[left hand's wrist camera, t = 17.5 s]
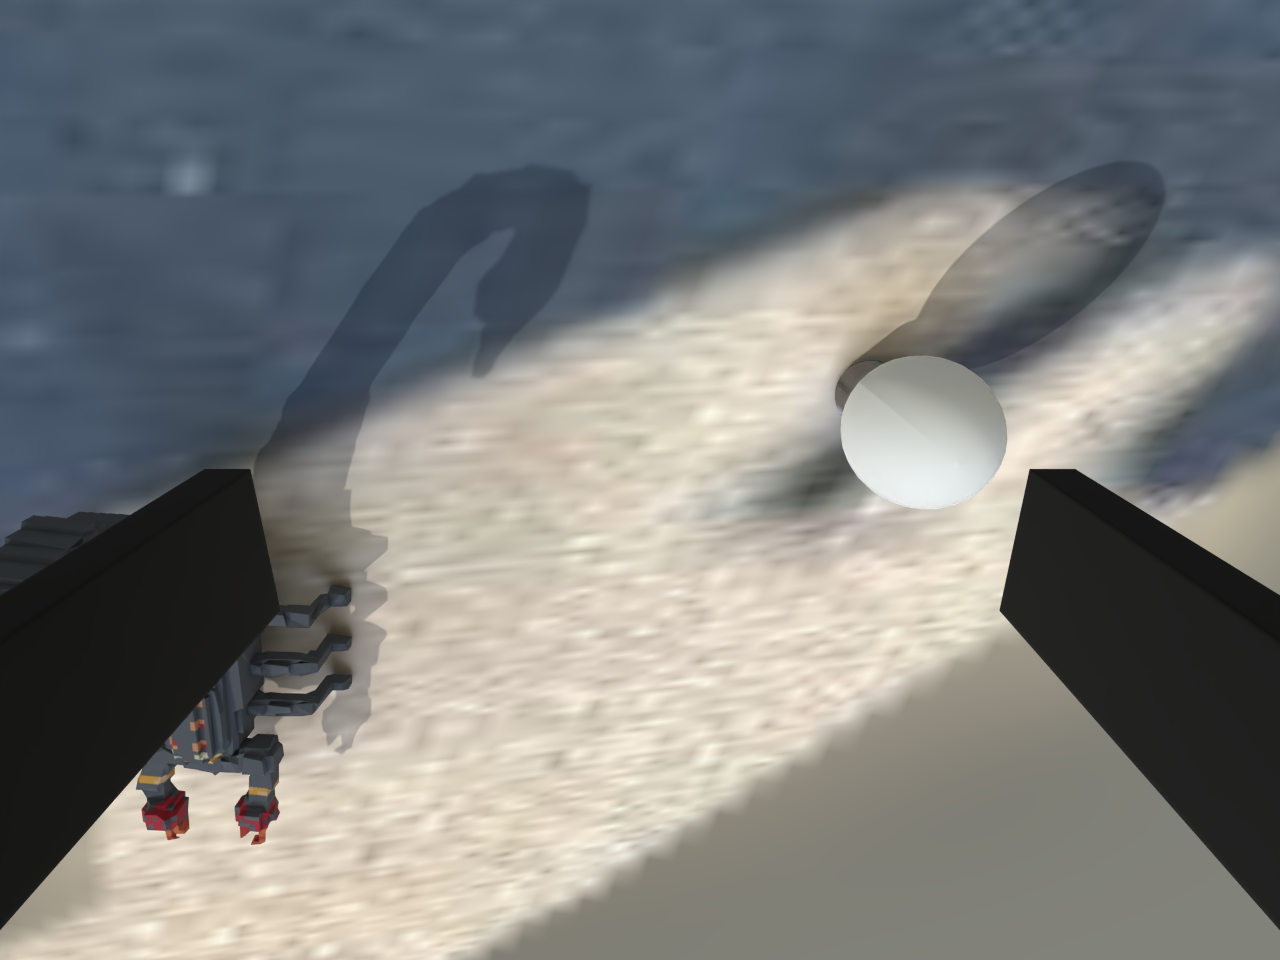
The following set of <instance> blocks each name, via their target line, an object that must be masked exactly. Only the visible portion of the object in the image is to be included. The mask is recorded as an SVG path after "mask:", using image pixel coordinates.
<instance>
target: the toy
mask: <svg viewBox="0 0 1280 960" xmlns="http://www.w3.org/2000/svg"><path fill="white" fill-rule="evenodd" d="M128 516H130V515H124V514H111V513H110V514H106V513H92V512H89V513H87V512H78V513H76V514H74V515H72V516H70V517H69V518H67V519H66V518H58V517H50V516H45V517H42V516H32V517H30V518H28V519H26V520H24V521H22V526H21V529H20V530H18V531H17V532H15V533H13V534H11V535H9V536H8V537H6V538H5V545H4V546H2V547H1V548H0V595H1V594H3V593H5V592H6V591H8V590H10V589H11V588H13V587H14V586H16V585H18V584H19V583H21V582H23V581H24V580H26V579H27V578H29V577H31V576H32V575H34V574H36V573H37V572H39V571H40V570H42V569H44V568H45V567H47V566H49V565H50V564H52V563H53V562H55V561H57V560H58V559H60V558H61V557H63V556H65V555H66V554H68V553H70V552H71V551H73V550H74V549H76V548H78V547H79V546H81V545H83V544H84V543H86V542H87V541H89V540H91V539H92V538H94V537H96V536H97V535H99V534H100V533H102V532H104V531H105V530H107V529H109V528H110V527H112V526H113V525H115V524H117V523H118V522H120V521H121V520H123V519H125V518H126V517H128ZM350 601H351V588H344V587H336V586H331V588H330V590H329V592H328V594H321V595H320V596H319V597H318V598H317V599H316V600H315V601H314V602H313V603H312V604H311V605H310V606H303V605H287V606H282V605H279V606H280V612H279V613H278V614H277V615H276V616H275V617H274V619H273V620H272V621H271V622H270V623H269V624H268V625H267V626H280V627H301V628H309V627H310V626H311V625H312V623H313V622H314V621H315V620H316V619H317V617H318V616H319V615H320V614H321V613H322V612H324V611H325V610H327V609H328V608H329V607H337V606H348V604H349V603H350ZM350 646H351V637H347V636H339V635H330V634H327V636H326V637H325V639H324V640H323V641H322V643H321V644H320V646H319V647H318V648H317V650H316V651H314V650H311V651H310V652H309V653H308V654H304V653H296V652H263V653H262V651H261V641H260V634H259V636H258V637H257V638H256V639H255V640H254V641H253V642H252V644H251V645H250V646H249V647H248V648H247V649H246V650H245V652H244V653H243V654H242V655H241V656H240V657H239V658H238V660H237V661H236V662H235V663H234V664H233V665H232V666H231V668H230V669H229V670H228V671H227V672H226V673H225V674H224V676H223V677H222V678H221V679H220V680H219V681H218V682H217V683H216V685H215V686H214V687H213V688H212V689H211V690H210V691H209V693H208V694H207V695H206V696H205V697H204V698H203V699H202V701H201V702H200V703H199V704H198V705H197V706H196V707H195V709H194V710H193V711H192V712H191V713H190V714H189V715H188V717H187V718H186V719H185V720H184V721H183V722H182V723H181V725H180V726H179V727H178V728H177V729H176V730H175V731H174V732H173V734H172V735H171V736H170V737H169V738H168V739H167V740H166V742H165V743H164V744H163V745H162V746H161V747H160V748H159V750H158V751H157V752H156V753H155V754H154V755H153V756H152V758H151V759H150V760H149V761H148V762H147V763H146V764H145V766H144V767H143V768H142V771H141V773H140V776H139V778H138V782H137V787H136V790H142V791H143V792H144V794H145V795H146V797H147V803H146V804H145V806H144V807H143V808H142V816H143V822H145V823H146V827H147V830H160V831H165V832H166V835H167V839H168V840H171V839H177V838H179V837H176V834H185V833H186V831H187V830H188V829H189V817H188V802H189V797H185V791H180V790H178V789H177V788H176V787H175V786H174V785H173V784H172V782H171V781H170V779H171V777H172V776H173V775H174V774H175V766H176V765H177V764H178V765H183V766H184V768H190V769H197V770H201V771H206V772H211V773H213V774H214V775H216V774H218V773H219V772H232V773H241V772H242V774H248V775H250V777H249V790H248V792H247V794H246V795H243V796H242V797H241V798H240V800H239V801H238V803H237V804H236V806H235V817H236V821H238V826H240V836H241V838H242V837H244V836H245V835H246V834H247V833H248V832H249V831H256V832H259V835H255V837H254V839H253V841H252V843H251V845H254V844H261V843H263V842H265V832H266V829H267V827H268V825H269V823H270V822H271V821H273V820H277V818H278V815H279V813H280V812H279V810H278V803H279V802H278V800H277V798H276V797H275V787H276V785H277V784H278V783H279V763H280V761H281V759H282V758H283V756H284V752H283V745H282V744H281V743H280V742H279V740H278V735H273V734H257V735H256V736H254V737H253V738H247V737H248V736H249V734H250V733H251V732H252V730H253V729H254V718H255V717H256V715H259V716H306V715H312V714H313V713H314V712H315V711H316V710H317V709H318V707H319V706H320V705H321V704H322V702H323V701H324V700H325V699H326V698H327V696H328V695H329V694H330V693H331V691H332V690H345V689H349V687H350V685H351V684H352V675H336V674H332V675H328V676H326V677H325V679H324V680H323V681H322V682H321V684H320V685H319V686H318V688H317V689H316V690H315V691H312V692H309V693H307V694H292V693H274V692H269V693H264V692H262V691H260V690H259V688H260V687H261V686H262V685H263V683H264V682H263V676H268V677H276V676H280V675H284V674H285V675H296V676H303V675H307V674H312V673H315V672H318V671H319V669H320V668H321V666H322V665H323V663H324V662H325V660H326V659H327V658H328V656H329V655H330V653H331V652H332V651H346V650H348V649H349V648H350Z"/></svg>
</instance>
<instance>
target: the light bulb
mask: <svg viewBox="0 0 1280 960" xmlns="http://www.w3.org/2000/svg"><path fill="white" fill-rule="evenodd" d="M835 400H836V405H837V408H838V410H839V412H840V414H841V415H842V419H841V437H842V445H843V449H844V452H845V455H846V457H847V460H848V462H849V464H850V465H851V467H852V469H853V470H854V472H855V473H856V475H857V476H858V478H859V479H860V480H861V481H862V482H864V483H865V484H866V485H867V486H868V487H869V488H870V489H871V490H872V491H873V492H875V493H876V494H878V495H879V496H881V497H883V498H884V499H886V500H889V501H891V502H893V503H896V504H899V505H902V506H904V507H910V508H916V509H940V508H945V507H949V506H953V505H955V504H958V503H961V502H963V501H965V500H967V499H968V498H970V497H972V496H973V495H975V494H977V493H978V492H979V491H980V490H982V489H983V488H984V487H985V486H986V485H987V484H988V483H989V482H990V480H991V479H992V478H993V477H994V475H995V473H996V472H997V470H998V468H999V467H1000V465H1001V463H1002V460H1003V457H1004V454H1005V451H1006V445H1007V427H1006V420H1005V417H1004V413H1003V410H1002V407H1001V405H1000V403H999V402H998V400H997V398H996V396H995V395H994V393H993V392H992V390H991V389H990V387H989V386H988V385H987V384H986V383H985V382H984V381H983V380H982V379H981V378H980V377H978V376H977V375H976V374H974V373H973V372H972V371H970V370H969V369H967V368H966V367H964V366H963V365H960V364H958V363H955V362H953V361H950V360H947V359H944V358H940V357H934V356H928V355H927V356H907V357H902V358H898V359H893V360H891V361H889V362H886V363H883V362H880V361H872V360H871V361H863V362H859V363H857V364H855V365H853V366H851V367H850V368H849V369H847V370H846V371H845V372H844V373H843V375H842V376H841V377H840V379H839V381H838V383H837V386H836V391H835Z"/></svg>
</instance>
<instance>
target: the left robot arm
mask: <svg viewBox="0 0 1280 960" xmlns="http://www.w3.org/2000/svg"><path fill="white" fill-rule="evenodd" d="M279 612H280V606H279V602H278V597H277V592H276V587H275V583H274V578H273V573H272V569H271V564H270V559H269V555H268V550H267V545H266V540H265V536H264V531H263V526H262V522H261V517H260V512H259V508H258V503H257V498H256V494H255V489H254V484H253V479H252V475H251V470H250V469H204V470H203V471H201V472H199V473H198V474H196V475H194V476H193V477H191V478H190V479H188V480H186V481H185V482H183V483H182V484H180V485H178V486H177V487H175V488H173V489H172V490H170V491H169V492H167V493H165V494H164V495H162V496H160V497H159V498H157V499H156V500H154V501H152V502H151V503H149V504H147V505H146V506H144V507H143V508H141V509H139V510H138V511H136V512H134V513H133V514H131V515H130V516H128V517H126V518H125V519H123V520H121V521H120V522H118V523H117V524H115V525H113V526H112V527H110V528H109V529H107V530H105V531H104V532H102V533H100V534H99V535H97V536H96V537H94V538H92V539H91V540H89V541H87V542H86V543H84V544H83V545H81V546H79V547H78V548H76V549H74V550H73V551H71V552H70V553H68V554H66V555H65V556H63V557H61V558H60V559H58V560H57V561H55V562H53V563H52V564H50V565H49V566H47V567H45V568H44V569H42V570H40V571H39V572H37V573H36V574H34V575H32V576H31V577H29V578H27V579H26V580H24V581H23V582H21V583H19V584H18V585H16V586H14V587H13V588H11V589H10V590H8V591H6V592H5V593H3V594H1V595H0V930H1V929H2V927H3V926H4V925H5V924H6V923H7V922H8V921H9V919H10V918H11V917H12V916H13V915H14V914H15V913H16V911H17V910H18V909H19V908H20V907H21V906H22V905H23V903H24V902H25V901H26V900H27V899H28V898H29V897H30V895H31V894H32V893H33V892H34V891H35V890H36V889H37V887H38V886H39V885H40V884H41V883H42V882H43V881H44V879H45V878H46V877H47V876H48V875H49V874H50V873H51V872H52V870H53V869H54V868H55V867H56V866H57V865H58V864H59V862H60V861H61V860H62V859H63V858H64V857H65V856H66V854H67V853H68V852H69V851H70V850H71V849H72V848H73V846H74V845H75V844H76V843H77V842H78V841H79V840H80V838H81V837H82V836H83V835H84V834H85V833H86V832H87V831H88V829H89V828H90V827H91V826H92V825H93V824H94V823H95V821H96V820H97V819H98V818H99V817H100V816H101V815H102V813H103V812H104V811H105V810H106V809H107V808H108V807H109V805H110V804H111V803H112V802H113V801H114V800H115V799H116V797H117V796H118V795H119V794H120V793H121V792H122V791H123V789H124V788H125V787H126V786H127V785H128V784H129V783H130V782H131V780H132V779H133V778H134V777H135V776H136V775H137V774H138V772H139V771H140V770H141V769H142V768H143V767H144V766H145V764H146V763H147V762H148V761H149V760H150V759H151V758H152V756H153V755H154V754H155V753H156V752H157V751H158V750H159V748H160V747H161V746H162V745H163V744H164V743H165V742H166V740H167V739H168V738H169V737H170V736H171V735H172V734H173V732H174V731H175V730H176V729H177V728H178V727H179V726H180V725H181V723H182V722H183V721H184V720H185V719H186V718H187V717H188V715H189V714H190V713H191V712H192V711H193V710H194V709H195V707H196V706H197V705H198V704H199V703H200V702H201V701H202V699H203V698H204V697H205V696H206V695H207V694H208V693H209V691H210V690H211V689H212V688H213V687H214V686H215V685H216V683H217V682H218V681H219V680H220V679H221V678H222V677H223V676H224V674H225V673H226V672H227V671H228V670H229V669H230V668H231V666H232V665H233V664H234V663H235V662H236V661H237V660H238V658H239V657H240V656H241V655H242V654H243V653H244V652H245V650H246V649H247V648H248V647H249V646H250V645H251V644H252V642H253V641H254V640H255V639H256V638H257V637H258V636H259V634H260V633H261V632H262V631H263V630H264V629H265V628H266V626H267V625H268V624H269V623H270V622H271V621H272V620H273V619H274V617H275V616H276V615H277V614H278V613H279ZM1000 612H1001V613H1002V614H1003V615H1004V616H1005V617H1006V619H1007V620H1008V621H1009V622H1010V623H1011V624H1012V625H1013V626H1014V628H1015V629H1016V630H1017V631H1018V632H1019V633H1020V634H1021V636H1022V637H1023V638H1024V639H1025V640H1026V641H1027V642H1028V644H1029V645H1030V646H1031V647H1032V648H1033V649H1034V650H1035V652H1036V653H1037V654H1038V655H1039V656H1040V657H1041V658H1042V660H1043V661H1044V662H1045V663H1046V664H1047V665H1048V666H1049V667H1050V669H1051V670H1052V671H1053V672H1054V673H1055V674H1056V676H1057V677H1058V678H1059V679H1060V680H1061V681H1062V682H1063V683H1064V685H1065V686H1066V687H1067V688H1068V689H1069V690H1070V691H1071V693H1072V694H1073V695H1074V696H1075V697H1076V698H1077V699H1078V701H1079V702H1080V703H1081V704H1082V705H1083V706H1084V707H1085V709H1086V710H1087V711H1088V712H1089V713H1090V714H1091V715H1092V717H1093V718H1094V719H1095V720H1096V721H1097V722H1098V723H1099V724H1100V726H1101V727H1102V728H1103V729H1104V730H1105V731H1106V732H1107V734H1108V735H1109V736H1110V737H1111V738H1112V739H1113V740H1114V742H1115V743H1116V744H1117V745H1118V746H1119V747H1120V748H1121V750H1122V751H1123V752H1124V753H1125V754H1126V755H1127V756H1128V758H1129V759H1130V760H1131V761H1132V762H1133V763H1134V764H1135V766H1136V767H1137V768H1138V769H1139V770H1140V771H1141V772H1142V774H1143V775H1144V776H1145V777H1146V778H1147V779H1148V780H1149V782H1150V783H1151V784H1152V785H1153V786H1154V787H1155V788H1156V789H1157V791H1158V792H1159V793H1160V794H1161V795H1162V796H1163V797H1164V799H1165V800H1166V801H1167V802H1168V803H1169V804H1170V805H1171V807H1172V808H1173V809H1174V810H1175V811H1176V812H1177V813H1178V815H1179V816H1180V817H1181V818H1182V819H1183V820H1184V821H1185V823H1186V824H1187V825H1188V826H1189V827H1190V828H1191V829H1192V831H1193V832H1194V833H1195V834H1196V835H1197V836H1198V837H1199V838H1200V840H1201V841H1202V842H1203V843H1204V844H1205V845H1206V846H1207V848H1208V849H1209V850H1210V851H1211V852H1212V853H1213V854H1214V856H1215V857H1216V858H1217V859H1218V860H1219V861H1220V862H1221V863H1222V865H1223V866H1224V867H1225V868H1226V869H1227V870H1228V871H1229V873H1230V874H1231V875H1232V876H1233V877H1234V878H1235V879H1236V881H1237V882H1238V883H1239V884H1240V885H1241V886H1242V888H1243V889H1244V890H1245V891H1246V892H1247V893H1248V894H1249V895H1250V897H1251V898H1252V899H1253V900H1254V901H1255V902H1256V903H1257V905H1258V906H1259V907H1260V908H1261V909H1262V910H1263V911H1264V913H1265V914H1266V915H1267V916H1268V917H1269V918H1270V919H1271V921H1272V922H1273V923H1274V924H1275V925H1276V926H1277V927H1278V929H1279V930H1280V595H1279V594H1277V593H1275V592H1274V591H1272V590H1270V589H1269V588H1267V587H1266V586H1264V585H1262V584H1261V583H1259V582H1257V581H1256V580H1254V579H1253V578H1251V577H1249V576H1248V575H1246V574H1244V573H1243V572H1241V571H1240V570H1238V569H1236V568H1235V567H1233V566H1231V565H1230V564H1228V563H1227V562H1225V561H1223V560H1222V559H1220V558H1218V557H1217V556H1215V555H1214V554H1212V553H1210V552H1209V551H1207V550H1206V549H1204V548H1202V547H1201V546H1199V545H1197V544H1196V543H1194V542H1193V541H1191V540H1189V539H1188V538H1186V537H1184V536H1183V535H1181V534H1180V533H1178V532H1176V531H1175V530H1173V529H1171V528H1170V527H1168V526H1167V525H1165V524H1163V523H1162V522H1160V521H1159V520H1157V519H1155V518H1154V517H1152V516H1150V515H1149V514H1147V513H1146V512H1144V511H1142V510H1141V509H1139V508H1137V507H1136V506H1134V505H1133V504H1131V503H1129V502H1128V501H1126V500H1124V499H1123V498H1121V497H1120V496H1118V495H1116V494H1115V493H1113V492H1111V491H1110V490H1108V489H1107V488H1105V487H1103V486H1102V485H1100V484H1098V483H1097V482H1095V481H1094V480H1092V479H1090V478H1089V477H1087V476H1086V475H1084V474H1082V473H1081V472H1079V471H1077V470H1076V469H1030V470H1029V475H1028V479H1027V484H1026V489H1025V494H1024V498H1023V503H1022V508H1021V512H1020V517H1019V522H1018V526H1017V531H1016V536H1015V540H1014V545H1013V550H1012V555H1011V559H1010V564H1009V569H1008V573H1007V578H1006V583H1005V587H1004V592H1003V597H1002V602H1001V606H1000Z"/></svg>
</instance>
